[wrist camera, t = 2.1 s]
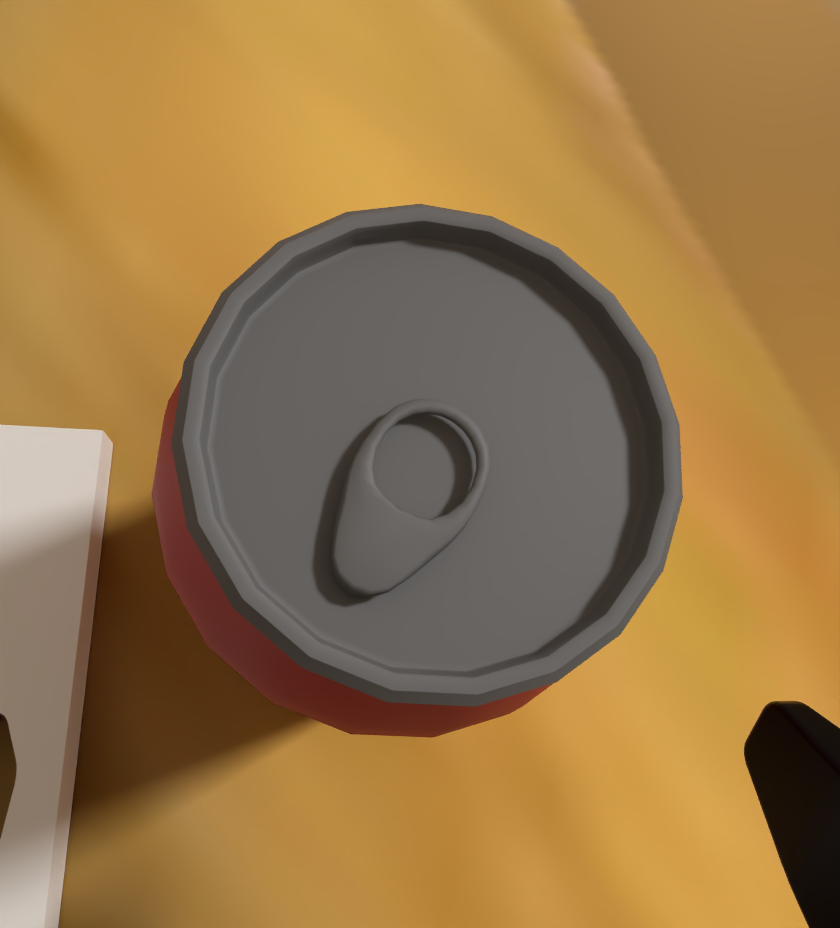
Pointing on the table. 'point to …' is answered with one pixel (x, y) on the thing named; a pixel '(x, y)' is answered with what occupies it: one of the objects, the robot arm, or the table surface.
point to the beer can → (415, 471)
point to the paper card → (45, 647)
